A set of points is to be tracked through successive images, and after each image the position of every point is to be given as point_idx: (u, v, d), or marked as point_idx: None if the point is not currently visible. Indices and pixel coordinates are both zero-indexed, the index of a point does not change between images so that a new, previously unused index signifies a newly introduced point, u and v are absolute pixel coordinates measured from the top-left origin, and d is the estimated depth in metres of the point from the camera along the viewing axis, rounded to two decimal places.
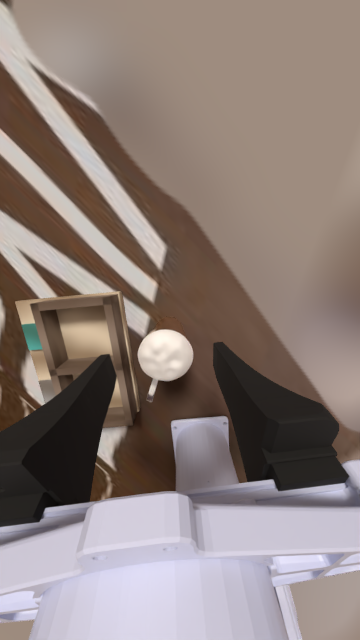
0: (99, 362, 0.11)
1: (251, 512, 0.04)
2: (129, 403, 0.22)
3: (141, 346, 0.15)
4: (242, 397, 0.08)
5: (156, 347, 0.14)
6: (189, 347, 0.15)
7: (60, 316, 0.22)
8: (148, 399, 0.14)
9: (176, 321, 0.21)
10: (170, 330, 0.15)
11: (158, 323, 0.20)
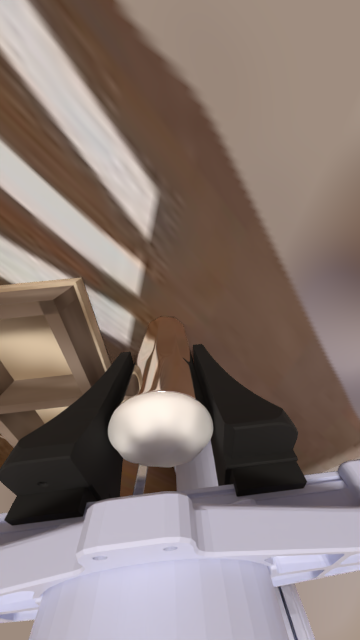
0: (122, 360, 0.11)
1: (251, 512, 0.04)
2: None
3: (112, 425, 0.07)
4: (211, 401, 0.08)
5: (142, 439, 0.07)
6: (208, 423, 0.08)
7: None
8: None
9: (177, 332, 0.13)
10: (170, 394, 0.07)
11: (147, 336, 0.12)
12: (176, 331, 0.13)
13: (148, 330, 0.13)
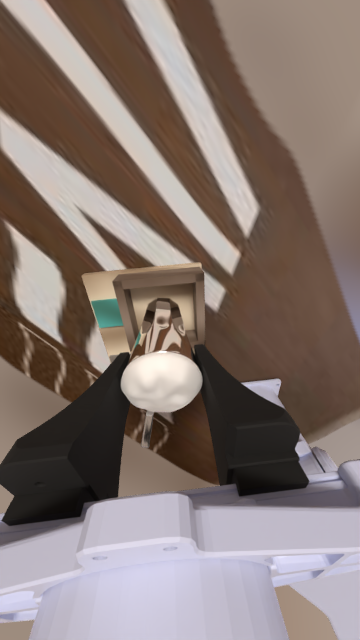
0: (121, 360, 0.11)
1: (251, 512, 0.04)
2: None
3: (124, 379, 0.10)
4: (213, 400, 0.08)
5: (147, 385, 0.09)
6: (197, 374, 0.10)
7: (133, 291, 0.20)
8: (143, 444, 0.10)
9: (172, 310, 0.15)
10: (167, 353, 0.09)
11: (147, 314, 0.14)
12: (171, 309, 0.15)
13: (147, 310, 0.15)
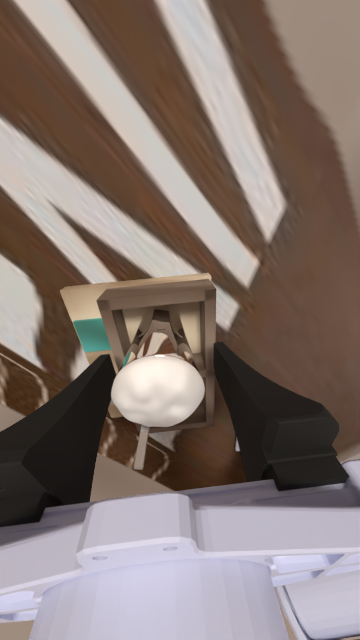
0: (100, 362, 0.11)
1: (251, 512, 0.04)
2: None
3: (115, 387, 0.08)
4: (242, 397, 0.08)
5: (141, 394, 0.08)
6: (199, 382, 0.09)
7: (126, 309, 0.16)
8: (136, 466, 0.09)
9: (171, 313, 0.14)
10: (164, 357, 0.08)
11: (144, 318, 0.13)
12: (170, 313, 0.14)
13: (144, 314, 0.14)
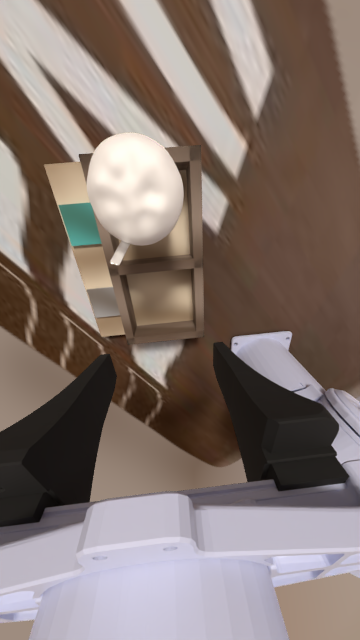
0: (100, 362, 0.11)
1: (251, 512, 0.04)
2: None
3: (89, 169, 0.08)
4: (242, 397, 0.08)
5: (114, 159, 0.08)
6: (176, 170, 0.09)
7: None
8: (113, 262, 0.09)
9: None
10: None
11: None
12: None
13: None
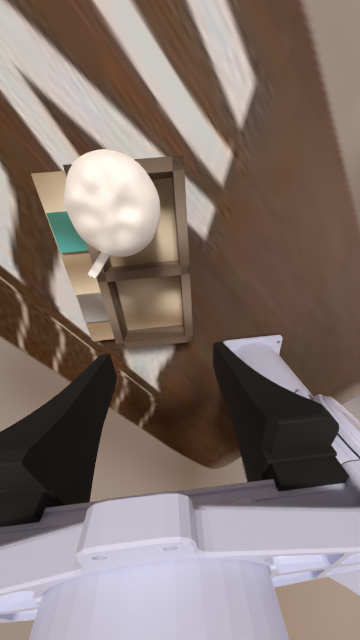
0: (100, 362, 0.11)
1: (251, 512, 0.04)
2: (191, 317, 0.19)
3: (66, 184, 0.08)
4: (242, 397, 0.08)
5: (88, 176, 0.08)
6: (151, 185, 0.09)
7: None
8: (90, 274, 0.09)
9: None
10: None
11: None
12: None
13: None
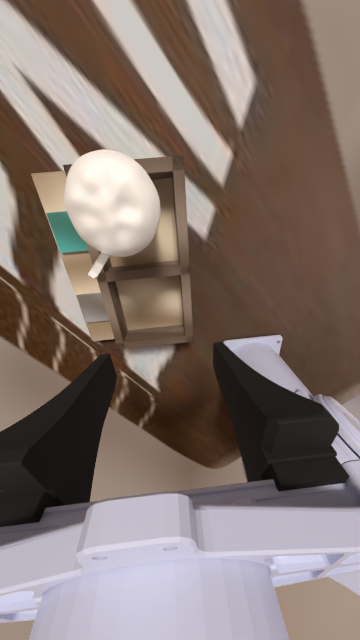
0: (100, 362, 0.11)
1: (251, 512, 0.04)
2: (191, 317, 0.19)
3: (66, 185, 0.08)
4: (242, 397, 0.08)
5: (88, 177, 0.08)
6: (151, 186, 0.09)
7: None
8: (90, 274, 0.09)
9: None
10: None
11: None
12: None
13: None
